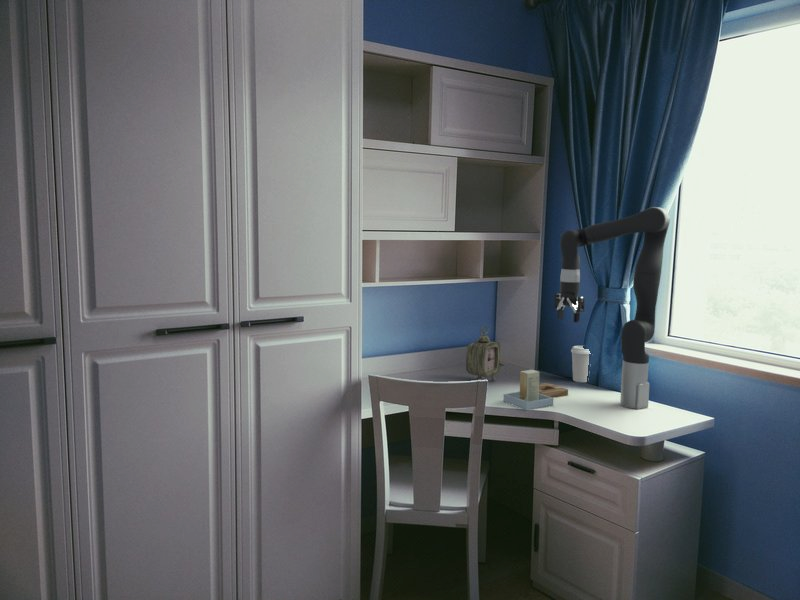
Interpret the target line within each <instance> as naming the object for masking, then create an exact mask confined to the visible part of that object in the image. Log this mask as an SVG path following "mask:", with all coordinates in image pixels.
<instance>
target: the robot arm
mask: <svg viewBox="0 0 800 600" xmlns="http://www.w3.org/2000/svg"><path fill="white" fill-rule="evenodd" d="M670 221H671V218H670V213H669V212H668V211H667V210H666V209H665V208H663V207H657V206H651V207H648V208H646V209H644V210H642V211H640V212H636V213H635V214H632V215H629V216H627V217H626V216H625V217H623V218H620V219H614V220H610V221H605V222H600V223H595V224H592V225H588V226H587V227H584V228H580V229H573V230H572V229H568V230H565V231H564V232H563V233H561V237H560V254H561V272H560V279H559V280H560V281H559V293H554V300H553V308H554V309H556V310H557V314H556V315H557V320H559V321H561V320H564V309H565V307H567V306H568V307H570V308H571V309H572V311H573V318H572V319H573V320H572V321H573V323H579V322H580V314H581V313H583V312H585V297H584V296H579V293H580V285H581V270H580V269H581V257H580V255H579V251H578V249H579V248H581V247H585V246H587V245H592V244H597V243H602V242H606V241H611V240H612V239H616V238H619V237H622V236H625V235H630V234H637V233H644V235H643V244H642V246H641V250H640V253H639V256H638V258H637V259H636V262H635V263H636V264H635V268H634V273H633V280H632V282H633V283H632V284H633V286H632V287H633V292H634V296H635V301H636V308H635V309H636V310H635V315H634V318H633V319H631V320H628V321H626V322H625V323H624V324H623V326H622V330H621V339H620V342H621V344H620V345H621V348H620V349H621V355H622V369H621V371H622V372H621V381H620V383H621V387H620V400H619V404H620V405H621V406H622V407H625V408H629V409H635V410H641V409H645V408H646V409H647V408H648V407H649V398H650V397H649V396H650V382H648V379H649V378H648V377H649V365H650V364H649V362H650V356H649V354H648V353H647V352H646V347H645V346H646V343H647V342H648V343H649V341H651V340H652V338H654V334H655V328H656V327H655V326H656V309H657V301H658V294H659V288H660V283H661V276H662V267H663V259H664V258H663V257H664V248H665V247H664V246H665V241H666V237H667V233H668V229H669V226H670Z"/></svg>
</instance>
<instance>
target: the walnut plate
mask: <svg viewBox="0 0 800 600" xmlns="http://www.w3.org/2000/svg"><path fill="white" fill-rule="evenodd" d="M539 393H540V394H543V395H545V396H548V397H551V398H553V399H554V397H555V398H560V397H567V396H569V389H568V388H565V387H562V386H559V385H555V384H552V383H549V382H545V383H544V382H543V383H539Z"/></svg>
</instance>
